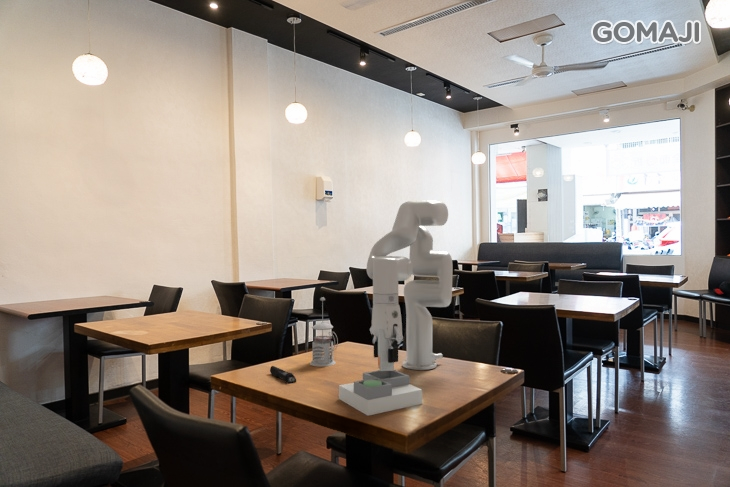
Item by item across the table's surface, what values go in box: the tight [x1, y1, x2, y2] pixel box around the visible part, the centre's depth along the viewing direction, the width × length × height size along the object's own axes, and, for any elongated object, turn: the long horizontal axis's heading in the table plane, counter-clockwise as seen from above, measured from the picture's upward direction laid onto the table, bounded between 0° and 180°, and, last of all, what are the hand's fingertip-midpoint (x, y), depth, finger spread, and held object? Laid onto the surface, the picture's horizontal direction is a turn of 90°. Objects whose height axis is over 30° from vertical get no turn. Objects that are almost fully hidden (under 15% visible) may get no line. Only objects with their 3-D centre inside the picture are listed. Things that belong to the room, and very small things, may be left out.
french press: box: [309, 296, 339, 367], centre depth 183 cm, size 10×12×25 cm
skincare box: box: [377, 329, 395, 371], centre depth 143 cm, size 6×4×12 cm
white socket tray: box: [338, 369, 423, 416], centre depth 139 cm, size 18×16×7 cm
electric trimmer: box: [269, 365, 297, 385], centre depth 164 cm, size 4×16×3 cm, turn 34°
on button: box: [363, 380, 382, 387], centre depth 133 cm, size 5×5×3 cm
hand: (385, 359), depth 143 cm, fingers closed on skincare box, 7 cm apart
